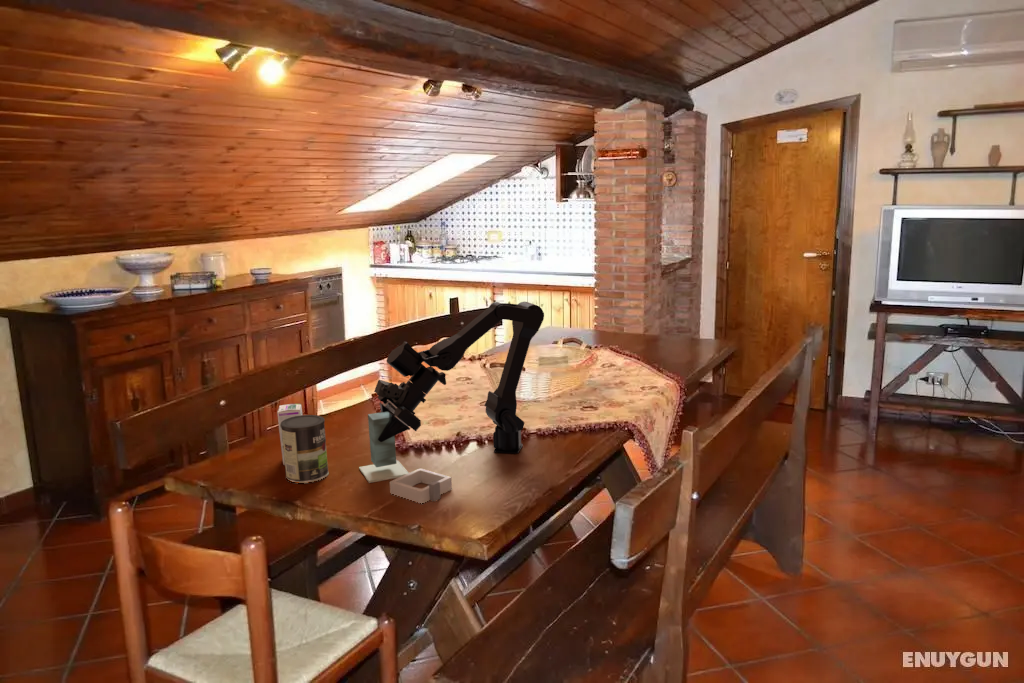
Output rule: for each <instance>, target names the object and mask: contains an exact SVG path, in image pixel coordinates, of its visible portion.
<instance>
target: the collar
mask: <svg viewBox="0 0 1024 683" xmlns="http://www.w3.org/2000/svg"><path fill="white" fill-rule="evenodd" d="M452 480H453V479H452V477H451V476H448V475H446V474H445V475H444V474H442V473H439V472H434V471H431V470H428V469H424V468H421V467H420V468H417V469H415V470H412V471H410V472H409V473H408V474H406V475H404V476H401V477H398V478H394V479H393V480H391V481H389V492H390V493H391V494H390V495H392V494H394V495H393V496H395V495H397V496H396V497H398V496H400V497H399V498H401V497H403V498H402V499H404V498H406V499H405V500H407V499H409V500H408V501H410V500H412V501H411V502H413V501H416V502H415V503H417V502H418V504H420V503H421V504H420V505H423V504H422V503H424V504H425V502H426V503H428V502H430V501H429V500H432V501H431V502H433V501H435V502H437V501H438V499H439V500H441V494H442V495H443V493H444V494H445V493H448V492H450V491H451V490H453V483H452ZM420 483H422V484H426V485H427V486H425V487H422V488H420V487H417V486H416V485H418V484H420ZM415 486H416V487H415ZM436 500H437V501H436ZM427 501H428V502H427Z"/></svg>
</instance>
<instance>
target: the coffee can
mask: <svg viewBox="0 0 1024 683" xmlns="http://www.w3.org/2000/svg"><path fill="white" fill-rule="evenodd" d="M325 422H326V421H325V418H324V417H323V416H321V415H317V414H302V415H301V416H294V417H291V418H288V419H285V420H283V421H282V422H281V424H280V425H281V428H282V439H283V449H284V460H285V465H284V467H285V479H286V478H287V479H288V480H290V481H292V482H299V483H304V484H309V483H308V482H312V483H315V482H314V481H317V482H319V481H322V480H324V479H326V478H327V477H328V476H329V474H330V473H329V464H328V452H327V444H326V443H327V442H326V441H327V439H326V430H325V429H326V428H325V427H326V426H325V425H326V424H325ZM325 477H326V478H325ZM323 478H324V479H323ZM321 479H322V480H321ZM318 480H319V481H318Z"/></svg>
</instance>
